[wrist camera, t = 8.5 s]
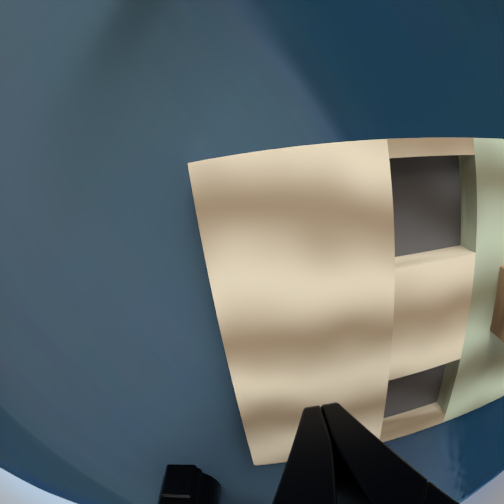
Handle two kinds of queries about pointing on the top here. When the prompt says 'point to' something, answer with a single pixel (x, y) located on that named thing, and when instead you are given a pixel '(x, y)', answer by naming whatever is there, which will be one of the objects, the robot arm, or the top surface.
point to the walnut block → (499, 308)
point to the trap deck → (356, 281)
